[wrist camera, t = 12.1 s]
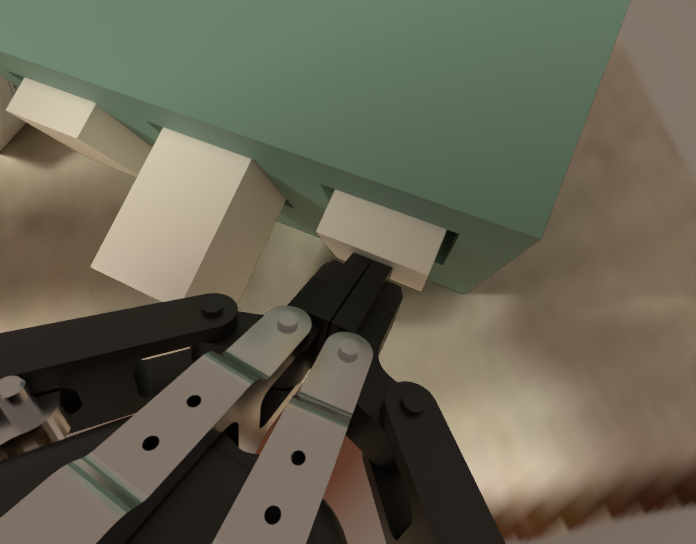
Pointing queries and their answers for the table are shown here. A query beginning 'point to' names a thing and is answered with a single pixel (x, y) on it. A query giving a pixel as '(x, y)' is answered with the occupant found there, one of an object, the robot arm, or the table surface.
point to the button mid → (191, 222)
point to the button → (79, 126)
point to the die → (3, 123)
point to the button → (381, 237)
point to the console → (349, 98)
